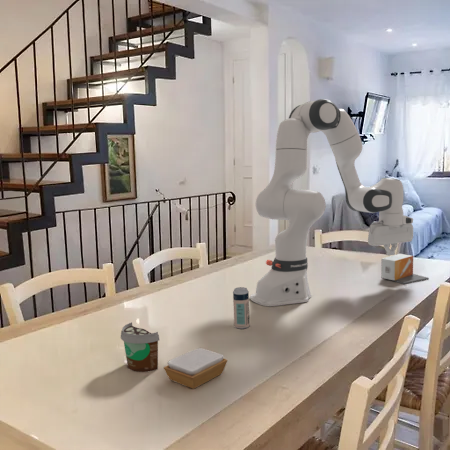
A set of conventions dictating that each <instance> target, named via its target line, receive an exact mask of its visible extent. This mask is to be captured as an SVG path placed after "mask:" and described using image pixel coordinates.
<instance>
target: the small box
mask: <svg viewBox="0 0 450 450" xmlns="http://www.w3.org/2000/svg"><path fill="white" fill-rule="evenodd" d="M380 270H381V271H380V273H381V274H380V275H381V276H380V278H382V279H384V278H385V280H388V279H390V280H389V281H391V280H398V279H401V278H404V277H407V276H410V275H413V274H414V255H410V254H404V253H397V254H395V255H390V256H386V257H382V258H381V266H380Z"/></svg>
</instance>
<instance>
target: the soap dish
mask: <svg viewBox="0 0 450 450" xmlns="http://www.w3.org/2000/svg"><path fill="white" fill-rule="evenodd" d="M167 361H168V360H167ZM227 363H228V359H227V358H225V357H224V355H223V354H222V353H218V352H215V351H212V350H208V349H206V348H202V347H198V348H196V349H193V350H190V351H187V352H185V353H184V354H181V355H178V356H176V357H174V358H172V359H170V360H169V361H168V362H167V365H165V366H164V367H163V370H164V372H165V373H166V376H167V377H168V378H169V380H170V381H172V382H175V383H177V384H181V385H183V386H184V387H186V388H189V389H193V390H194V389H196V388H198V387H200V386H201V385H203V384H205V383H207V382H209V381H211V380H213V379H214V378H217V377H218V376H220V375H221V374H223V373H224V370H225V367H226V366H227Z"/></svg>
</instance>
